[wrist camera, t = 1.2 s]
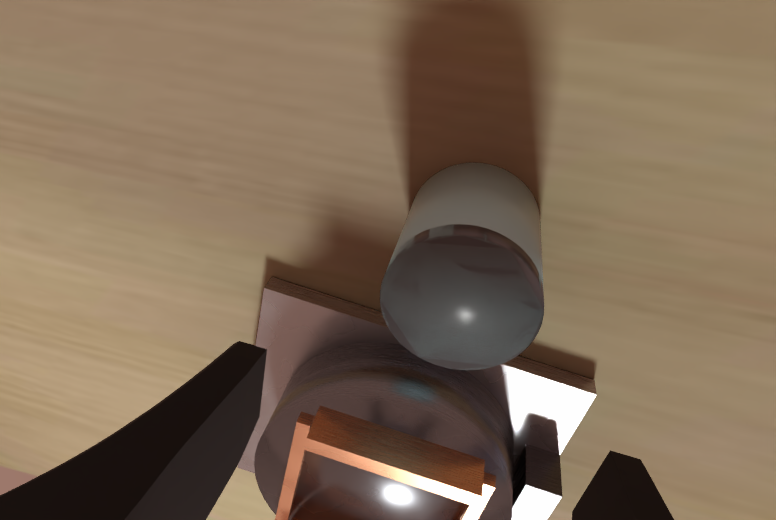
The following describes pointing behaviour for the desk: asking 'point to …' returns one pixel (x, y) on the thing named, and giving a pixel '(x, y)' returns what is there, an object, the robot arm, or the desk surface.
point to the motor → (399, 422)
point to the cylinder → (467, 270)
